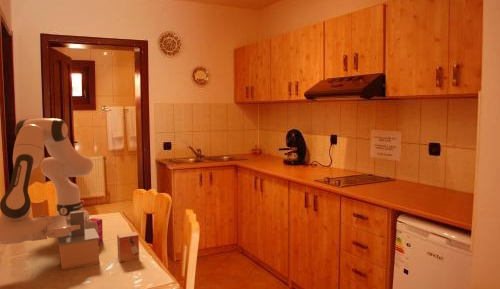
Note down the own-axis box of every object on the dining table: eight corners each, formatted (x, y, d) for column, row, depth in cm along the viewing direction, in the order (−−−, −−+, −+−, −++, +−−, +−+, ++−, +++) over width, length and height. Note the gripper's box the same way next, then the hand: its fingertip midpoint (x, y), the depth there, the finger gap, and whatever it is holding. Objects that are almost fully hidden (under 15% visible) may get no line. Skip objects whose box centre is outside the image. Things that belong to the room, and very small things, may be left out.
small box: (120, 262, 166) (118, 237, 165) (117, 258, 171) (116, 234, 170) (139, 259, 170) (138, 234, 169) (136, 254, 175) (135, 231, 174)
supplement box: (96, 246, 186) (95, 221, 185) (85, 245, 188) (83, 221, 187) (103, 241, 192) (102, 218, 191) (92, 241, 193) (91, 217, 192)
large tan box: (60, 258, 172) (58, 235, 171) (94, 252, 178) (93, 230, 177) (62, 269, 159) (60, 245, 158) (99, 263, 166) (98, 239, 165)
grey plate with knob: (57, 235, 171) (56, 210, 170) (94, 229, 178) (93, 205, 177) (59, 245, 158) (58, 218, 157) (99, 239, 165) (98, 213, 164)
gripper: (41, 227, 152) (81, 222, 158) (40, 214, 170) (76, 210, 176) (42, 243, 152) (81, 237, 159) (41, 229, 170) (77, 224, 177)
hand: (78, 223), depth 168 cm, fingers open, 8 cm apart
